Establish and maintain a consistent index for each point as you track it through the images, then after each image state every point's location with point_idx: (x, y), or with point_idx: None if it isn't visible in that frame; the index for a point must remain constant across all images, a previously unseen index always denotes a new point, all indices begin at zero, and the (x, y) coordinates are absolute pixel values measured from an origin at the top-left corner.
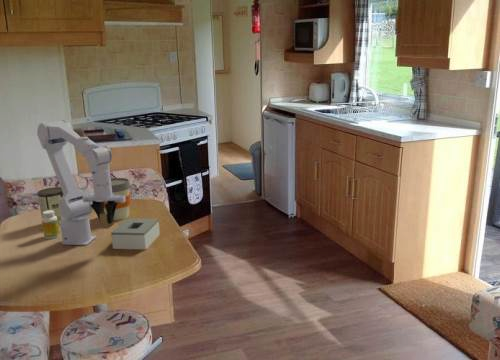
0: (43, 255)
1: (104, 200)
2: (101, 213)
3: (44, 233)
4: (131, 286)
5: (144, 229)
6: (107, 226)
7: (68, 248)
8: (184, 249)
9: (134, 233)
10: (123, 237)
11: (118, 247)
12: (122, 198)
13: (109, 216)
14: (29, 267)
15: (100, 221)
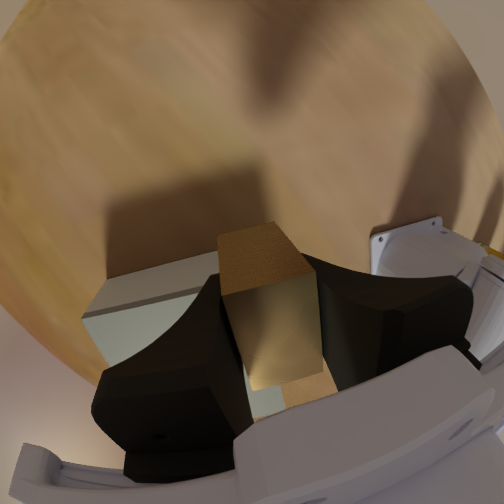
0: (442, 127)
1: (208, 487)
2: (306, 300)
3: (491, 248)
4: (7, 44)
5: (116, 354)
6: (221, 240)
7: (410, 195)
8: (19, 312)
9: (122, 308)
10: (184, 282)
11: (216, 252)
12: (14, 485)
13: (201, 301)
14: (417, 41)
15: (289, 241)
